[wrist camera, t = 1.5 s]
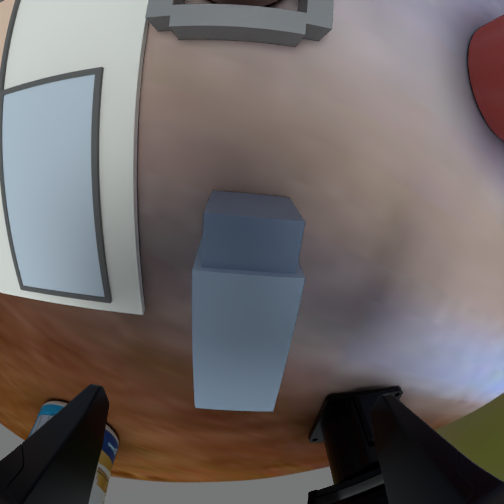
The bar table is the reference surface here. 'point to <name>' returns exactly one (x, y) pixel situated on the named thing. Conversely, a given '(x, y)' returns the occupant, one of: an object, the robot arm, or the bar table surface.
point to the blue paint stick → (245, 299)
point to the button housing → (242, 21)
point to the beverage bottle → (105, 457)
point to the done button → (246, 2)
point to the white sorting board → (71, 151)
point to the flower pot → (489, 73)
